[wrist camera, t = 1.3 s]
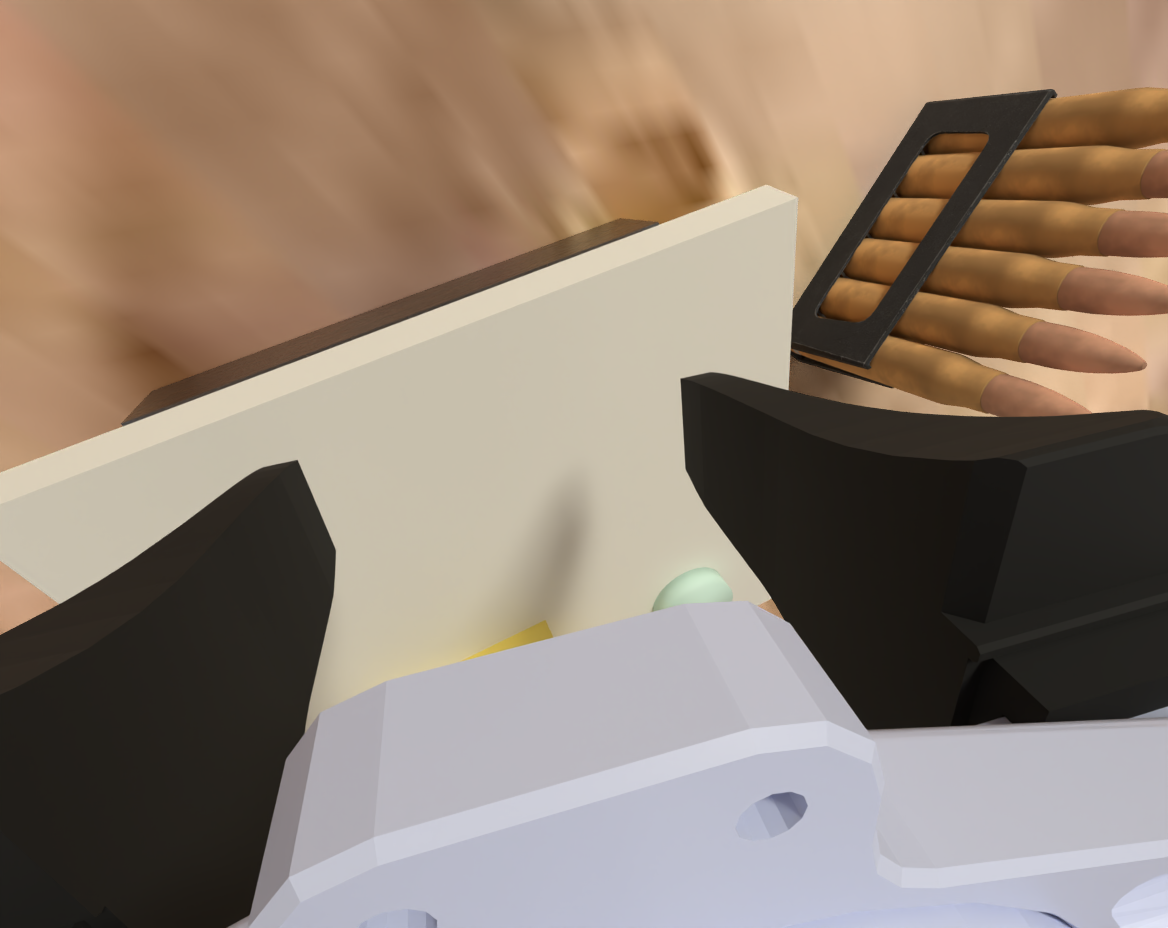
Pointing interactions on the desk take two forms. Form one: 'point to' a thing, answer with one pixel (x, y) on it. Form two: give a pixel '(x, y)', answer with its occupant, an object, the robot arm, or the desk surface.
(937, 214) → the ammunition clip
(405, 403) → the plate
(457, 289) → the leveling base
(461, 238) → the desk surface
